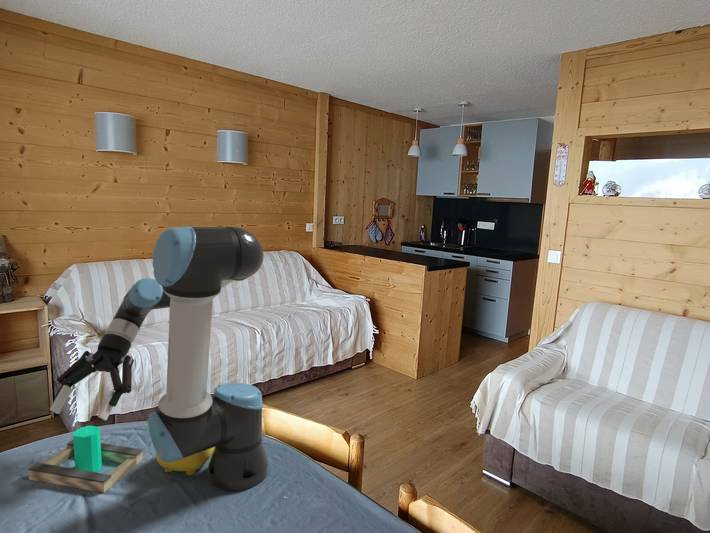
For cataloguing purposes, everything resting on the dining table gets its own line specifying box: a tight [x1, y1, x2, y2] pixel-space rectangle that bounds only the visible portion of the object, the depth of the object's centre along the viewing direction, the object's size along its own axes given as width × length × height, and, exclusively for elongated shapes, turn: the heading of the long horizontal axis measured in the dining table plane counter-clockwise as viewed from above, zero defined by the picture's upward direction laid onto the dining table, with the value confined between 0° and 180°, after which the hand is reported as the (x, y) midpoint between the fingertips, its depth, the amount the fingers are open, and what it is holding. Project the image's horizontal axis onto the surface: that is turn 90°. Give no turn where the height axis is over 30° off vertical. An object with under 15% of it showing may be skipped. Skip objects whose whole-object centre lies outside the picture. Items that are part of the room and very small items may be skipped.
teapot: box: [155, 447, 215, 476], centre depth 117 cm, size 13×20×12 cm
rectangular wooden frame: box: [27, 439, 144, 494], centre depth 113 cm, size 21×14×3 cm, turn 79°
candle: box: [72, 425, 103, 473], centre depth 113 cm, size 6×6×12 cm
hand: (77, 415), depth 109 cm, fingers open, 13 cm apart
